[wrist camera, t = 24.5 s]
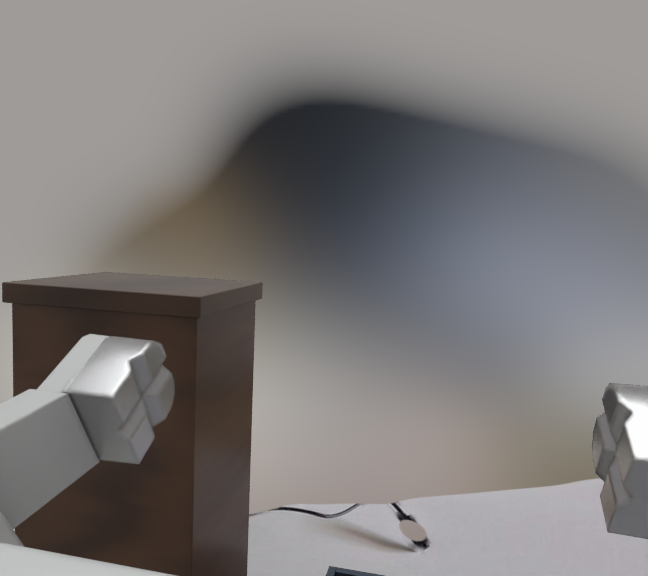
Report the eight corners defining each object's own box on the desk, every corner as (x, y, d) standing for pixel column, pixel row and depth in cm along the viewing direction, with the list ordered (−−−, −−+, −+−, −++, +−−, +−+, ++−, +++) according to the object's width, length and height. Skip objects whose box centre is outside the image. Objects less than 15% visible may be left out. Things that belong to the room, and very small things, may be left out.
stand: (8, 762, 31) (1, 282, 28) (103, 649, 39) (105, 271, 36) (189, 814, 28) (200, 296, 26) (249, 682, 37) (262, 282, 34)
